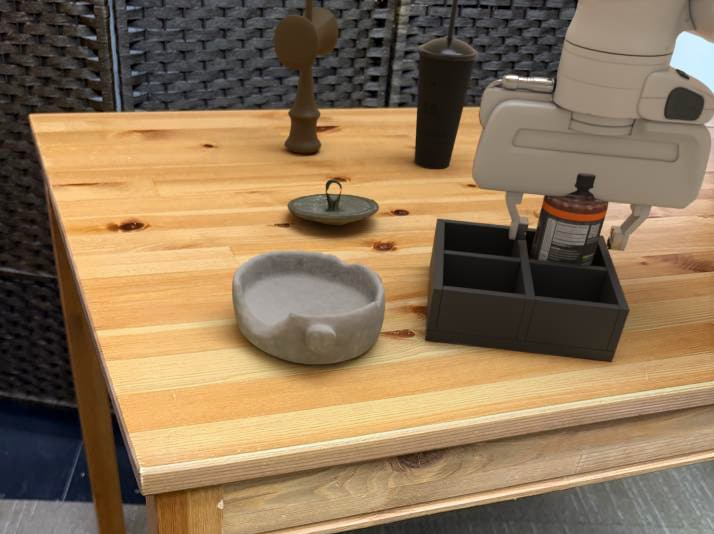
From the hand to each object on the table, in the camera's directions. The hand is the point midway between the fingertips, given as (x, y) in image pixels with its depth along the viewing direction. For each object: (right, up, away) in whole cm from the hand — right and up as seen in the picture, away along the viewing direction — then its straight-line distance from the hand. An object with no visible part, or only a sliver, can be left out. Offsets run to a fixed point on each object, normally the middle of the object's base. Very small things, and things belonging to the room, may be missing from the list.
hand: (565, 243), depth 79 cm
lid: (-22, +8, +16) cm, 28 cm away
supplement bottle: (0, -3, +3) cm, 5 cm away
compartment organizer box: (-5, -6, +1) cm, 8 cm away
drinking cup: (-8, +23, +34) cm, 41 cm away
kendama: (-26, +25, +35) cm, 50 cm away
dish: (-25, -10, -4) cm, 27 cm away
